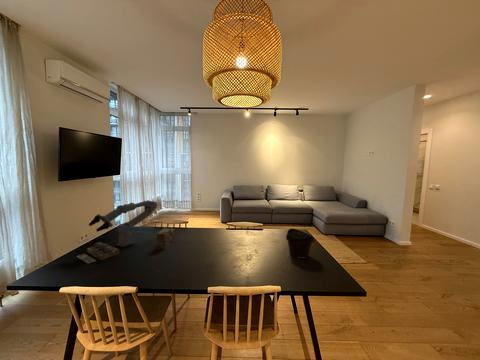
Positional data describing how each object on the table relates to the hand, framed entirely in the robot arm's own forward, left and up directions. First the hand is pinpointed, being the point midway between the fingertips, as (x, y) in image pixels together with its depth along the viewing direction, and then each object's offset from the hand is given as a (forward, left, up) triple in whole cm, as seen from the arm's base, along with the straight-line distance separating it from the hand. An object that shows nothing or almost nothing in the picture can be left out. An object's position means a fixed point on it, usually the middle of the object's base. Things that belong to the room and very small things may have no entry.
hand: (93, 227), depth 146 cm
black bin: (-84, +118, -19) cm, 146 cm away
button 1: (-5, -4, -16) cm, 17 cm away
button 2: (-5, +3, -16) cm, 17 cm away
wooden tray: (-5, +3, -19) cm, 20 cm away
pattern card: (+6, +3, -19) cm, 20 cm away
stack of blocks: (-42, +24, -19) cm, 52 cm away
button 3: (-5, +9, -16) cm, 19 cm away
